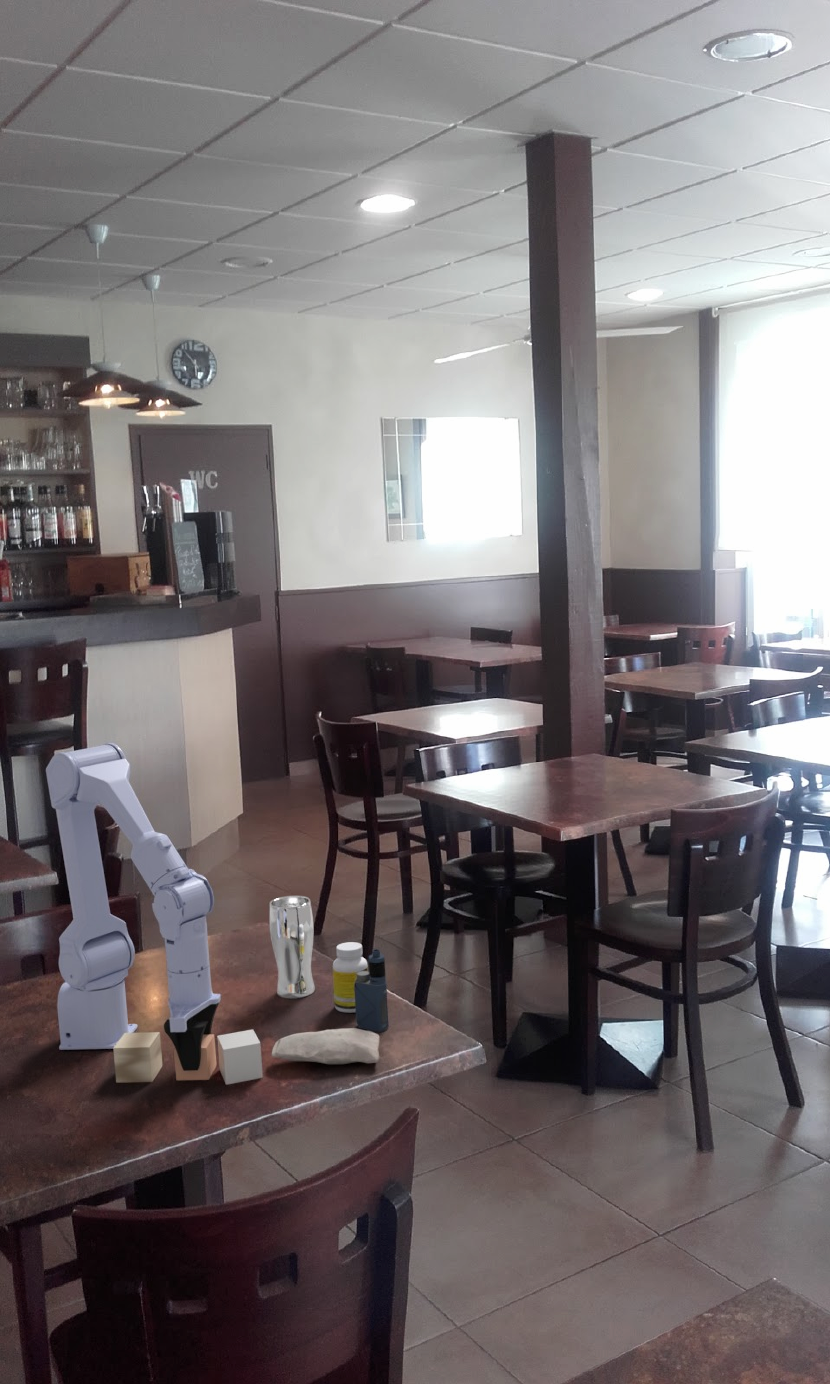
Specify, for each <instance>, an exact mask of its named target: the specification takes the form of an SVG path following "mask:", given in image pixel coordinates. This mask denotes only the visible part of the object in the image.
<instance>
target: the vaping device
mask: <svg viewBox="0 0 830 1384" xmlns="http://www.w3.org/2000/svg"><path fill="white" fill-rule="evenodd" d="M385 959H386V957H385V954H382V953H381V950H380V949H379V948H377V949H376V948H374V949H372V954H370V955H369V956H368V971H359V972H357V973H356V975H357V979H356V980H355V984H354V992H355V1009H356V1012H355V1021H356V1024H357V1027H358V1029H361V1030H365V1031H372V1032H378V1033H382V1032H384V1031H386V1030H387V1029H388V1028H389V1013H388V1011H389V1010H388V990H387V989H388V987H387V986H388V985H387V980H386V979H387V977H386V962H385Z"/></svg>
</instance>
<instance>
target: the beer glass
mask: <svg viewBox="0 0 830 1384" xmlns="http://www.w3.org/2000/svg"><path fill="white" fill-rule="evenodd" d="M314 930H315V929H314V917H313V909H312V904H311V899H310V898H309V897H308V896H304V895H286V896H280V897H278V898H277V897H276V898H274V899H271V901H269V933H270V934H269V935H270V939H271V945H272V949H273V953H274V959H275V961H276V967H277V971H278V972H277V974H278V975H277V976H278V977H277V986H276V987H277V988H276V995H278V996H279V997H280V998H283V999H302V998H305V997H308V996H310V995H312V994H313V993H314V992H315V990H316V987H315V984H314V983H315V982H314V979H313V975H312V957H313V956H312V953H313V947H314V937H315V936H314V934H315V933H314V932H315V931H314Z"/></svg>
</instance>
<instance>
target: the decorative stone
mask: <svg viewBox="0 0 830 1384" xmlns="http://www.w3.org/2000/svg"><path fill="white" fill-rule="evenodd" d="M379 1046H380V1035H379V1034H378V1033H375V1032H374V1031H371V1030H366V1029H362V1028H357V1027H352V1028H351V1027H349V1028H348V1027H347V1028H335V1029H334V1028H332V1029H325V1030H319V1031H307V1032H306V1031H305V1032H297V1033H293V1034H290V1035H287V1036H284V1037H282V1038H279V1039H278V1040H277V1041H276V1042H275V1044H274V1045H273V1047H272V1050H271V1056H272V1057H273V1058H277V1059H283V1060H287V1061H291V1062H312V1063H321V1064H325V1065H348V1064H351V1063H365V1064H373V1063H374V1064H377V1063H378V1061H380V1054H379V1053H380V1052H379Z"/></svg>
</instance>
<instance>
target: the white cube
mask: <svg viewBox="0 0 830 1384" xmlns="http://www.w3.org/2000/svg"><path fill="white" fill-rule="evenodd" d="M216 1037H217V1038H216V1039H217V1051H218V1061H219V1063H218V1064H219V1071H220V1073H221V1076H222V1078H223V1081H224V1083H225V1085H231V1084H237V1083H241V1082H242V1083H243V1082H247V1081H251V1080H252V1081H253V1080H259V1079H262V1078H263V1077H264V1076H263V1063H262V1060H263V1059H262V1046H261V1041H260V1039H259V1038H258V1036H257V1034H256V1032H255V1031H254V1028H253V1029H247V1030H242V1031H236V1032H232V1033H231V1032H230V1033H226V1034H220V1035H216Z"/></svg>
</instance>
